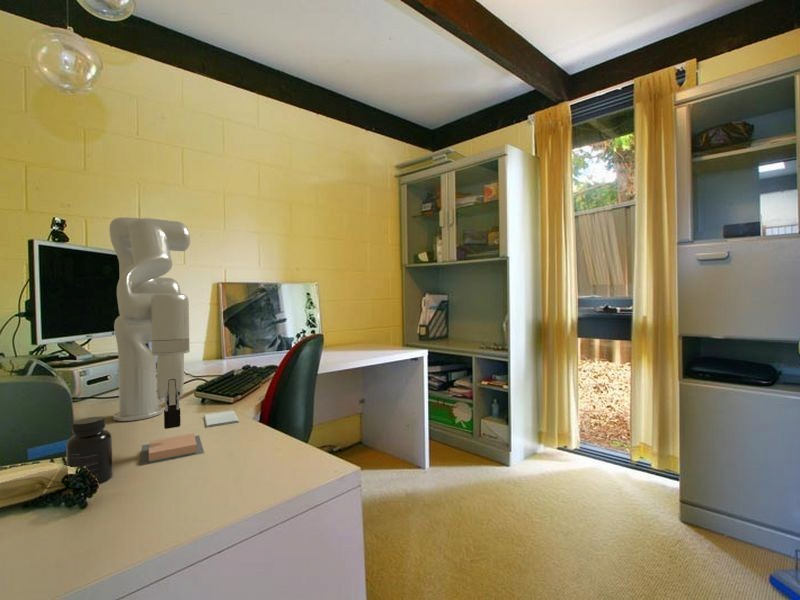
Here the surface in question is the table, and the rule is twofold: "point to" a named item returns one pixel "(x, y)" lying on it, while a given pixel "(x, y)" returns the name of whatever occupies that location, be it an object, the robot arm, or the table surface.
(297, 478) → the table surface
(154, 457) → the tile
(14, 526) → the table surface
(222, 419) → the hard drive
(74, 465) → the supplement bottle
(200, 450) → the mat
